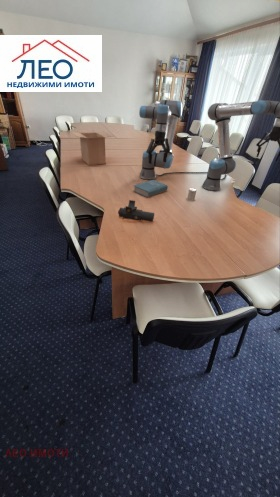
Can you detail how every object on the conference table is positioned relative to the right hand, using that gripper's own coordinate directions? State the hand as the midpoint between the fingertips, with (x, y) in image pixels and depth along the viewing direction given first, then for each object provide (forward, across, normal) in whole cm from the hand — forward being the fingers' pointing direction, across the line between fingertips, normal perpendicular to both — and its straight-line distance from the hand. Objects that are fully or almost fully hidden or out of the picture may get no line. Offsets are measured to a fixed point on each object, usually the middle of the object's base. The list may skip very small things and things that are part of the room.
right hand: (266, 158), depth 162 cm
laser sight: (+31, -43, -96) cm, 110 cm away
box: (+31, -158, -32) cm, 164 cm away
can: (+31, -34, -41) cm, 62 cm away
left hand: (+8, -63, -50) cm, 81 cm away
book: (+31, -65, -52) cm, 89 cm away
